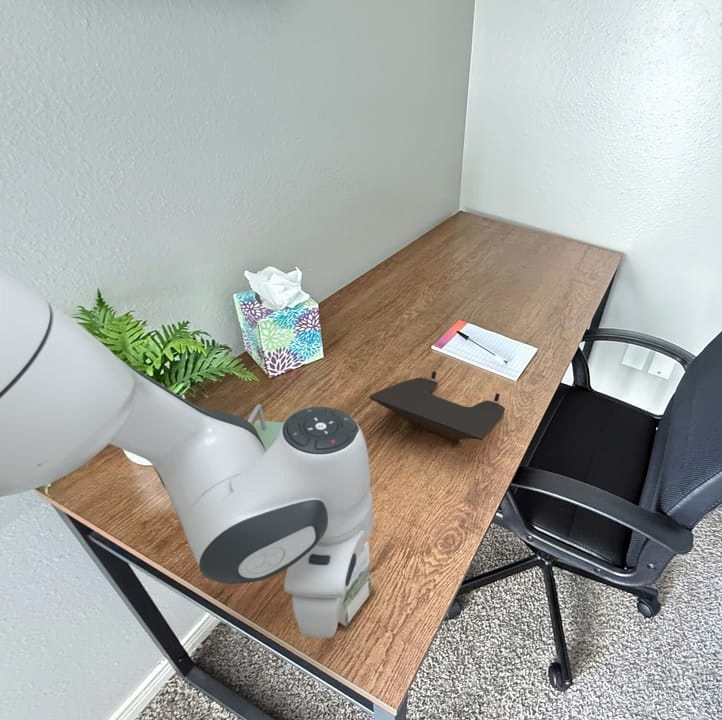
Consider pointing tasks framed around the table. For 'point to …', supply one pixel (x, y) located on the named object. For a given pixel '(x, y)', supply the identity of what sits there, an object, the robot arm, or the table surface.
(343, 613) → the syrup box
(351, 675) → the table surface
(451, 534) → the table surface
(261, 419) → the drying rack
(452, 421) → the laptop tray
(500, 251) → the table surface
